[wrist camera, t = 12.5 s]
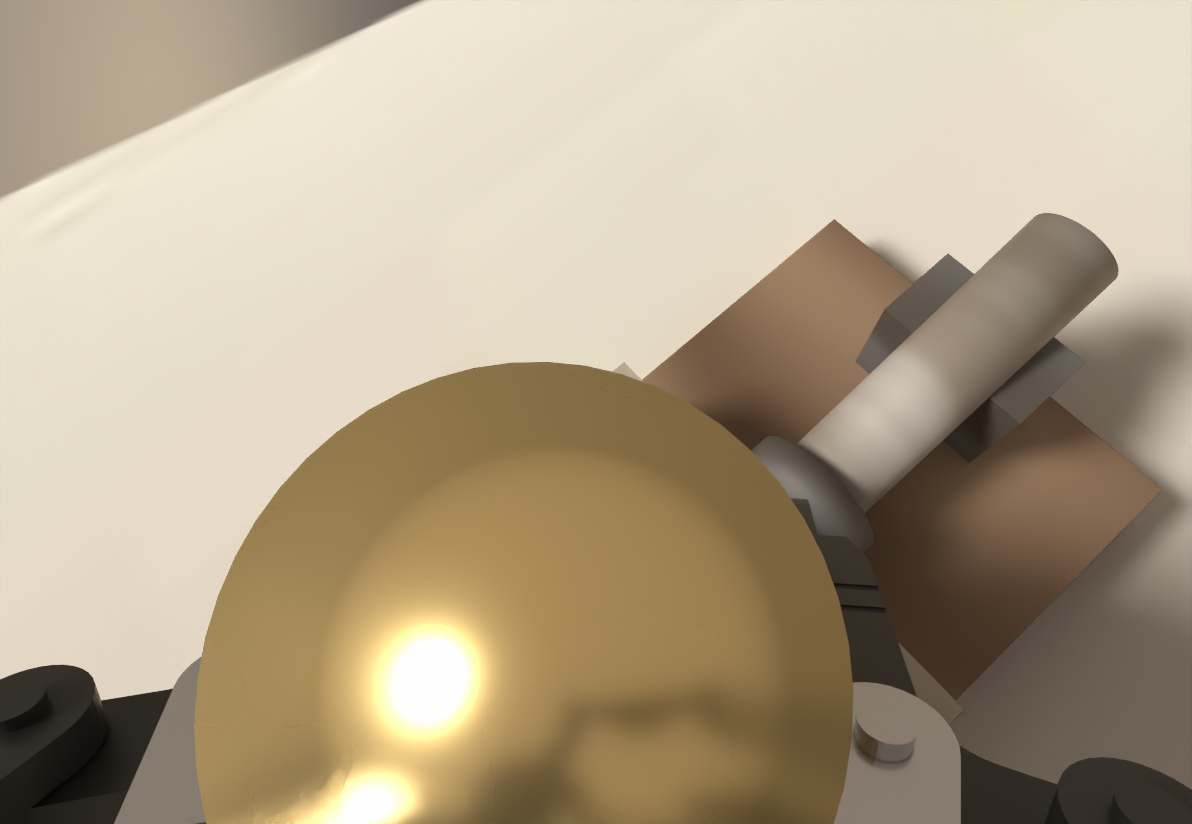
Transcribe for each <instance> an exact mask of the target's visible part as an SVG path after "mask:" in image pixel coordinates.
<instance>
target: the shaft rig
mask: <svg viewBox="0 0 1192 824" xmlns="http://www.w3.org/2000/svg"><path fill="white" fill-rule="evenodd" d="M1117 275H1118V265H1117V262H1116V260H1115V258H1114V256H1113V254H1112V253H1111V251H1110V250H1109V248H1108V247H1107V246H1106V245H1105V244H1104V243H1103V242H1102V241H1101V240H1100V239H1099V238H1098V237H1097V236H1096V235H1095V234H1094V233H1092V232H1091V231H1090V230H1088V229H1087V228H1085V227H1084V226H1082V225H1081V224H1079V223H1077V222H1075V221H1073V220H1071V219H1069V218H1067V217H1064V216H1061V215H1057V214H1052V213H1043V214H1039V215H1037V216H1035V217H1034V218H1033V219H1032V220H1031V221H1030V222H1029V223H1028V224H1027V225H1026V226H1025V227H1024V228H1022V229H1021V230H1020V231H1019V232H1018V233H1017V234H1016V235H1015V236H1014V237H1013V238H1012V239H1011V240H1010V241H1009V242H1008V243H1007V244H1006V245H1005V246H1004V247H1003V248H1002V249H1000V250H999V251H998V252H997V253H996V254H995V255H994V256H993V257H992V258H991V259H990V260H989V261H988V262H987V263H986V264H985V265H984V266H983V267H982V268H981V269H979V270H978V271H977V272H976V273H975V274H973V273H972V272H971V271H969V270H968V269H967V268H966V267H964V266H963V265H962V264H961V263H959V262H958V261H957V260H956V259H954V258H953V257H952V256H950V255H949V254H947V255H946V256H945V257H943V258H942V259H941V260H940V261H939V262H938V263H937V264H935V265H934V266H933V267H932V268H931V269H930V270H929V271H927V272H926V273H925V274H924V275H923V276H922V277H921V278H919V279H918V280H917V281H916V282H915V283H914V284H912V283H911V282H910V281H909V280H907V279H906V278H905V277H904V276H903V275H901V274H900V273H899V272H898V271H897V270H895V269H894V268H893V267H892V266H890V265H889V264H888V263H887V262H886V261H884V260H883V259H882V258H881V257H879V256H878V255H877V254H876V253H875V252H873V251H872V250H871V249H870V248H869V247H867V246H866V245H865V244H864V243H862V242H861V241H860V240H859V239H858V238H856V237H855V236H854V235H853V234H852V233H850V232H849V231H848V230H847V229H845V228H844V227H843V226H842V225H841V224H839V223H838V222H837V221H836V220H833V221H832V222H831V223H829V224H828V225H827V226H826V227H825V228H823V229H822V230H821V231H820V232H819V233H817V234H816V235H815V236H814V237H813V238H811V239H810V240H809V241H808V242H807V243H805V244H804V245H803V246H802V247H801V248H799V249H798V250H797V251H796V252H795V253H793V254H792V255H791V256H790V257H789V258H787V259H786V260H785V261H784V262H783V263H781V264H780V265H779V266H778V267H777V268H775V269H774V270H773V271H772V272H771V273H769V274H768V275H767V276H766V277H765V278H764V279H762V280H761V281H760V282H759V283H758V284H756V285H755V286H754V287H753V288H752V289H750V290H749V291H748V292H747V293H746V294H744V295H743V296H742V297H741V298H740V299H738V300H737V301H736V302H735V303H734V304H732V305H731V306H730V307H729V308H728V309H726V310H725V311H724V312H723V313H722V314H720V315H719V316H718V317H717V318H716V319H714V320H713V321H712V322H711V323H710V324H708V325H707V326H706V327H705V328H704V329H702V330H701V331H700V332H699V333H698V334H696V335H695V336H694V337H693V338H692V339H690V340H689V341H688V342H687V343H686V344H685V345H683V346H682V347H681V348H680V349H679V350H677V351H676V352H675V353H674V354H673V355H671V356H670V357H669V358H668V359H667V360H665V361H664V362H663V363H662V364H661V365H659V366H658V367H657V368H656V369H655V370H653V371H652V372H651V373H650V374H649V375H647V376H646V377H645V378H644V379H643V380H641V379H640V378H639V377H638V376H637V375H636V374H635V373H634V372H633V371H632V370H631V369H630V368H629V367H628V366H627V365H626V364H625V363H623V364H621V365H620V366H619V367H618V368H617V369H615V370H614V371H613V372H614V373H619V374H622V375H625V376H628V377H631V378H634V379H636V380H639V381H642V382H645V383H647V384H650V385H653V386H656V387H658V388H660V389H662V390H664V391H666V392H668V393H670V394H672V395H674V396H676V397H678V398H680V399H682V400H683V401H685V402H687V403H689V404H691V405H693V406H694V407H696V408H697V409H699V410H700V411H701V412H703V413H704V414H706V415H707V416H709V417H710V418H712V419H713V420H715V421H716V422H718V423H719V424H721V425H722V426H723V427H725V428H726V429H727V430H728V431H729V432H730V433H731V434H733V435H734V436H735V437H736V438H737V439H738V440H739V441H740V442H742V443H743V444H744V445H745V446H746V447H747V448H748V449H750V450H751V451H752V452H753V453H754V454H755V455H756V457H757V458H758V459H759V460H760V461H761V462H762V463H763V464H764V466H765V467H766V468H767V469H768V470H769V471H770V472H771V473H772V475H773V476H774V477H775V478H776V479H777V480H778V481H779V483H780V484H781V485H782V487H783V488H784V490H785V491H786V493H787V494H788V496H789V497H790V498H794V499H807V500H808V501H809V504H810V508H811V512H812V515H813V519H814V523H815V527H816V531H817V535H827V536H844V537H847V538H848V539H849V540H850V541H851V542H852V543H853V544H854V545H855V546H856V547H857V548H858V549H859V550H860V551H861V552H862V553H863V554H864V555H865V556H866V557H867V558H868V559H869V560H870V563H871V566H872V569H873V572H874V575H875V578H876V580H877V583H878V591H880V592H881V595H882V598H883V601H884V603H885V606H886V613H888V615H889V618H890V621H891V624H892V626H893V629H894V632H895V635H896V638H897V641H898V644H899V647H900V649H901V652H902V655H903V658H904V661H905V664H906V667H907V669H908V672H909V675H910V678H911V681H912V684H913V687H914V690H915V692H916V695H917V698H919V699H921V700H922V701H924V702H925V703H927V704H928V705H929V706H931V707H932V708H933V709H935V710H936V711H937V712H938V713H939V714H940V715H941V716H942V717H943V718H944V719H945V721H946V722H947V723H948V724H950V723H951V722H952V721H953V720H954V719H955V718H956V717H957V716H958V715H959V714H960V713H961V712H962V711H963V710H964V709H963V708H962V707H961V706H960V705H959V704H958V703H957V702H956V701H955V700H956V699H957V698H958V697H959V696H960V695H961V694H962V693H963V692H964V691H965V690H966V689H967V688H968V687H969V686H970V685H971V684H972V683H973V682H974V681H975V680H976V679H977V678H978V677H979V676H980V675H981V674H982V673H983V672H984V671H985V670H986V669H987V668H988V667H989V666H990V665H991V664H992V663H993V661H994V660H995V659H996V658H997V657H998V656H999V655H1000V654H1001V653H1002V652H1003V651H1004V650H1005V649H1006V648H1007V647H1008V646H1009V645H1010V644H1011V643H1012V642H1013V641H1014V640H1015V639H1016V638H1017V637H1018V636H1019V635H1020V634H1021V633H1022V632H1023V631H1024V630H1025V629H1026V628H1027V627H1028V626H1029V625H1030V624H1031V623H1032V622H1033V621H1034V620H1035V619H1036V618H1037V617H1038V616H1039V615H1040V614H1041V613H1042V611H1043V610H1044V609H1045V608H1046V607H1047V606H1048V605H1049V604H1050V603H1051V602H1052V601H1053V600H1054V599H1055V598H1056V597H1057V596H1058V595H1059V594H1060V593H1061V592H1062V591H1063V590H1064V589H1065V588H1066V587H1067V586H1068V585H1069V584H1070V583H1071V582H1072V581H1073V580H1074V579H1075V578H1076V577H1077V576H1078V575H1079V574H1080V573H1081V572H1082V571H1083V570H1084V569H1085V568H1086V567H1087V566H1088V565H1089V564H1090V563H1091V561H1092V560H1093V559H1094V558H1095V557H1096V556H1097V555H1098V554H1099V553H1100V552H1101V551H1102V550H1103V549H1104V548H1105V547H1106V546H1107V545H1108V544H1109V543H1110V542H1111V541H1112V540H1113V539H1114V538H1115V537H1116V536H1117V535H1118V534H1119V533H1120V532H1121V531H1122V530H1123V529H1124V528H1125V527H1126V526H1127V525H1128V524H1129V523H1130V522H1131V521H1132V520H1133V519H1134V518H1135V517H1136V516H1137V515H1138V514H1139V513H1140V511H1141V510H1142V509H1143V508H1144V507H1145V506H1146V505H1147V504H1148V503H1149V502H1150V501H1151V500H1152V499H1153V498H1154V497H1155V496H1156V495H1157V494H1158V493H1159V492H1160V491H1161V490H1162V488H1160V487H1159V486H1158V485H1157V484H1156V483H1154V482H1153V481H1152V480H1151V479H1149V478H1148V477H1147V476H1146V475H1145V474H1143V473H1142V472H1141V471H1140V470H1139V469H1137V468H1136V467H1135V466H1134V465H1132V464H1131V463H1130V462H1129V461H1128V460H1126V459H1125V458H1124V457H1123V456H1121V455H1120V454H1119V453H1118V452H1117V451H1115V450H1114V449H1113V448H1112V447H1111V446H1109V445H1108V444H1107V443H1106V442H1104V441H1103V440H1102V439H1101V438H1100V437H1098V436H1097V435H1096V434H1095V433H1094V432H1092V431H1091V430H1090V429H1089V428H1087V427H1086V426H1085V425H1084V424H1083V423H1081V422H1080V421H1079V420H1078V419H1076V418H1075V417H1074V416H1073V415H1072V414H1070V413H1069V412H1068V411H1067V410H1066V409H1064V408H1063V407H1062V406H1061V405H1059V404H1058V403H1057V402H1056V401H1055V400H1053V399H1052V398H1051V397H1050V395H1051V394H1052V393H1053V392H1054V391H1055V390H1056V389H1058V388H1059V387H1060V386H1061V385H1062V384H1063V383H1064V382H1065V381H1066V380H1067V379H1068V378H1069V377H1070V376H1071V375H1072V374H1073V373H1074V372H1075V371H1076V370H1077V369H1079V368H1080V367H1081V366H1082V365H1083V364H1084V363H1085V362H1084V361H1083V360H1082V359H1081V358H1079V357H1078V356H1077V355H1076V354H1074V353H1073V352H1072V351H1070V350H1069V349H1068V348H1067V347H1065V346H1064V345H1063V344H1062V343H1060V342H1059V341H1058V340H1057V339H1055V338H1054V336H1055V335H1056V334H1057V333H1058V332H1060V331H1061V330H1062V329H1063V328H1064V327H1065V326H1066V325H1067V324H1068V323H1069V322H1070V321H1071V320H1072V319H1073V318H1075V317H1076V316H1077V315H1078V314H1079V313H1080V312H1081V311H1082V310H1083V309H1084V308H1085V307H1086V306H1087V305H1088V304H1090V303H1091V302H1092V301H1093V300H1094V299H1095V298H1096V297H1097V296H1098V295H1099V294H1100V293H1101V292H1102V291H1103V290H1105V289H1106V288H1107V287H1108V286H1109V285H1110V284H1111V283H1112V282H1113V281H1114V280H1115V279H1116V278H1117Z"/></svg>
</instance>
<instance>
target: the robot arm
mask: <svg viewBox="0 0 1192 824" xmlns="http://www.w3.org/2000/svg"><path fill="white" fill-rule="evenodd" d="M790 499H791V500H792V501H793V503H794V504H795V506H796V507H797V509H798V510H799V512H800V513H801V515H802V516H803V518H804V519H805V521H806V523H807V525H808V527H809V529H810V531H811V533H812V535H813V537H814V539H815V541H816V543H817V545H818V547H819V549H820V551H821V553H822V555H823V557H824V559H825V562H826V565H827V568H828V570H829V573H830V576H831V579H832V581H833V584H834V587H835V590H836V592H837V595H838V598H839V602H840V607H841V611H842V615H843V620H844V624H845V629H846V633H847V637H848V642H849V650H850V660H851V671H852V681H853V722H852V742H851V748H850V755H849V761H848V767H847V774H846V780H845V786H844V790H843V794H842V797H841V800H840V804H839V807H838V811H837V814H836V817H835V821H834V824H1192V790H1191V789H1189V788H1188V787H1186V786H1184V785H1183V784H1181V783H1180V782H1178V781H1176V780H1175V779H1173V778H1171V777H1169V776H1167V775H1165V774H1163V773H1161V772H1159V771H1156V770H1154V769H1151V768H1149V767H1146V766H1144V765H1140V764H1137V763H1134V762H1130V761H1126V760H1120V759H1115V758H1101V757H1100V758H1088V759H1085V760H1081V761H1078V762H1076V763H1074V764H1072V765H1070V766H1069V767H1068V768H1067V769H1066V770H1065V771H1064V772H1063V774H1062V776H1061V778H1060V780H1059V782H1058V785H1056V784H1053V783H1050V782H1047V781H1044V780H1041V779H1038V778H1035V777H1032V776H1029V775H1026V774H1023V773H1020V772H1017V771H1014V770H1011V769H1008V768H1006V767H1003V766H1000V765H997V764H995V763H992V762H989V761H987V760H984V759H982V758H980V757H978V756H976V755H974V754H972V753H971V752H969V751H967V750H966V749H964V748H962V747H961V746H959V744H958V741H957V738H956V736H955V734H954V732H953V730H952V729H951V727H950V726H949V724H948V723H947V722H946V721H945V719H944V718H943V717H942V716H941V715H940V714H939V713H938V712H937V711H936V710H935V709H933V708H932V707H931V706H929V705H928V704H927V703H925V702H924V701H922V700H921V699H919V698H917V695H916V692H915V690H914V687H913V684H912V681H911V678H910V675H909V672H908V669H907V667H906V664H905V661H904V658H903V655H902V652H901V649H900V647H899V644H898V641H897V638H896V635H895V632H894V629H893V626H892V624H891V621H890V618H889V615H888V613H886V606H885V603H884V601H883V598H882V595H881V592H880V591H878V583H877V580H876V578H875V575H874V572H873V569H872V566H871V563H870V560H869V559H868V558H867V557H866V556H865V555H864V554H863V553H862V552H861V551H860V550H859V549H858V548H857V547H856V546H855V545H854V544H853V543H852V542H851V541H850V540H849V539H848V538H847V537H844V536H827V535H817V531H816V527H815V523H814V519H813V515H812V512H811V508H810V504H809V501H808V500H807V499H794V498H790ZM201 659H202V657H200V658H199V659H198V660H196V661H195V662H194V663H192V664H191V665H190V666H189V667H188V668H187V669H186V670H185V671H184V672H183V674H182V675H181V676H180V677H179V679H178V680H177V682H176V684H175V686H174V688H173V689H169V690H164V691H158V692H151V693H145V694H139V695H133V696H127V697H121V698H114V699H108V700H102V701H101V699H100V696H99V694H98V691H97V688H96V685H95V683H94V680H93V677H92V676H91V675H90V674H89V673H88V672H87V671H85V670H83V669H81V668H78V667H75V666H69V665H50V666H42V667H37V668H33V669H28V670H25V671H22V672H19V673H15V674H13V675H10V676H8V677H5V678H3V679H0V824H206V820H205V816H204V811H203V805H202V800H201V794H200V788H199V783H198V777H197V769H196V750H195V731H194V723H195V708H196V693H197V680H198V675H199V669H200V664H201Z"/></svg>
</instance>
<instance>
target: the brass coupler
mask: <svg viewBox="0 0 1192 824" xmlns="http://www.w3.org/2000/svg"><path fill="white" fill-rule="evenodd" d="M852 722H853V681H852V671H851V660H850V650H849V642H848V637H847V633H846V629H845V624H844V620H843V615H842V611H841V607H840V602H839V598H838V595H837V592H836V590H835V587H834V584H833V581H832V579H831V576H830V573H829V570H828V568H827V565H826V562H825V559H824V557H823V555H822V553H821V551H820V549H819V547H818V545H817V543H816V541H815V539H814V537H813V535H812V533H811V531H810V529H809V527H808V525H807V523H806V521H805V519H804V518H803V516H802V515H801V513H800V512H799V510H798V509H797V507H796V506H795V504H794V503H793V501H792V500H791V499H790V497H789V496H788V494H787V493H786V491H785V490H784V488H783V487H782V485H781V484H780V483H779V481H778V480H777V479H776V478H775V477H774V476H773V475H772V473H771V472H770V471H769V470H768V469H767V468H766V467H765V466H764V464H763V463H762V462H761V461H760V460H759V459H758V458H757V457H756V455H755V454H754V453H753V452H752V451H751V450H750V449H748V448H747V447H746V446H745V445H744V444H743V443H742V442H740V441H739V440H738V439H737V438H736V437H735V436H734V435H733V434H731V433H730V432H729V431H728V430H727V429H726V428H725V427H723V426H722V425H721V424H719V423H718V422H716V421H715V420H713V419H712V418H710V417H709V416H707V415H706V414H704V413H703V412H701V411H700V410H699V409H697V408H696V407H694V406H693V405H691V404H689V403H687V402H685V401H683V400H682V399H680V398H678V397H676V396H674V395H672V394H670V393H668V392H666V391H664V390H662V389H660V388H658V387H656V386H653V385H650V384H647V383H645V382H642V381H639V380H636V379H634V378H631V377H628V376H625V375H622V374H619V373H614V372H610V371H606V370H601V369H597V368H592V367H588V366H582V365H572V364H562V363H552V362H530V363H507V364H500V365H493V366H486V367H479V368H473V369H469V370H465V371H462V372H458V373H454V374H450V375H447V376H443V377H439V378H436V379H434V380H431V381H429V382H426V383H423V384H421V385H418V386H416V387H413V388H411V389H408V390H406V391H403V392H401V393H399V394H398V395H396V396H394V397H392V398H390V399H388V400H386V401H385V402H383V403H381V404H379V405H377V406H375V407H373V408H371V409H370V410H368V411H367V412H365V413H364V414H362V415H361V416H359V417H358V418H356V419H355V420H354V421H352V422H351V423H349V424H348V425H346V426H345V427H343V428H342V429H341V430H339V431H338V432H336V433H335V434H334V435H333V436H332V437H331V438H330V439H328V440H327V441H326V442H325V443H324V444H323V445H322V446H320V447H319V448H318V449H317V450H316V451H315V452H314V453H312V454H311V455H310V456H309V457H308V458H307V459H306V460H305V461H304V462H303V463H302V464H301V465H300V466H299V468H298V469H297V470H296V471H295V472H294V473H293V474H292V475H291V476H290V477H289V478H288V480H287V481H286V482H285V483H284V484H283V485H282V486H281V487H280V488H279V490H278V491H277V493H276V494H275V495H274V497H273V498H272V499H271V501H270V502H269V503H268V505H267V506H266V508H265V509H264V510H263V512H262V513H261V514H260V516H259V517H258V519H257V520H256V521H255V523H254V525H253V527H252V528H251V530H250V532H249V534H248V535H247V537H246V539H245V541H244V542H243V544H242V546H241V548H240V549H239V551H238V553H237V555H236V556H235V558H234V561H233V563H232V565H231V568H230V570H229V572H228V575H227V577H226V579H225V581H224V584H223V586H222V588H221V591H220V593H219V595H218V598H217V601H216V605H215V608H214V611H213V614H212V618H211V621H210V624H209V628H208V631H207V634H206V637H205V642H204V648H203V653H202V659H201V664H200V669H199V675H198V680H197V693H196V708H195V723H194V731H195V750H196V769H197V777H198V783H199V788H200V794H201V800H202V805H203V811H204V816H205V820H206V824H834V821H835V817H836V814H837V811H838V807H839V804H840V800H841V797H842V794H843V790H844V786H845V780H846V774H847V767H848V761H849V755H850V748H851V742H852Z"/></svg>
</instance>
